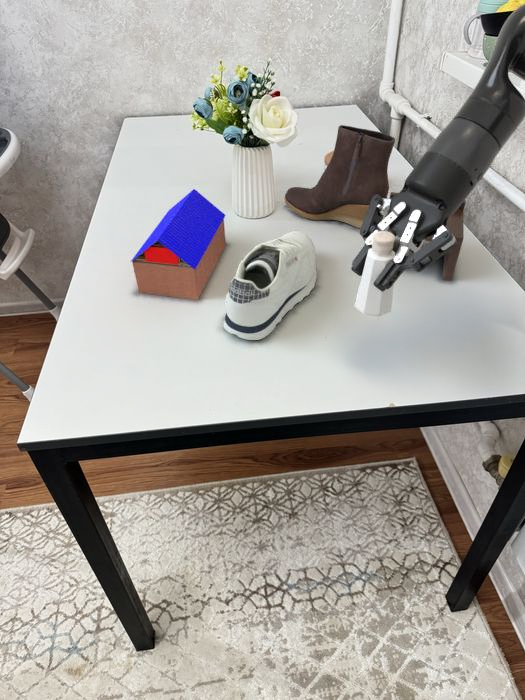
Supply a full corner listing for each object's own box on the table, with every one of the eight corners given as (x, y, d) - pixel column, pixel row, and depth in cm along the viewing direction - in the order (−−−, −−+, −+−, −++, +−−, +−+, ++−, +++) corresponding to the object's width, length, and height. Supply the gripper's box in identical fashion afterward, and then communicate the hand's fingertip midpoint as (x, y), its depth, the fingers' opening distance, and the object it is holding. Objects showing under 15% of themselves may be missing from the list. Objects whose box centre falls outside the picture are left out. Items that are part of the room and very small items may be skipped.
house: (227, 244, 102) (223, 191, 95) (199, 300, 88) (191, 243, 80) (173, 239, 104) (165, 186, 96) (136, 293, 90) (123, 237, 82)
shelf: (452, 248, 100) (465, 200, 93) (451, 281, 91) (465, 230, 84) (382, 239, 103) (390, 191, 96) (375, 270, 94) (383, 220, 87)
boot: (295, 197, 118) (298, 108, 104) (390, 222, 108) (407, 127, 95) (276, 212, 113) (277, 120, 99) (375, 239, 103) (390, 142, 89)
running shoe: (329, 260, 97) (334, 205, 89) (277, 353, 78) (278, 293, 70) (277, 250, 100) (277, 196, 92) (215, 336, 81) (208, 277, 73)
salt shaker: (380, 322, 66) (393, 251, 59) (346, 307, 69) (354, 237, 61) (399, 302, 69) (413, 233, 62) (366, 289, 72) (375, 220, 64)
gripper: (398, 134, 63) (318, 246, 66) (490, 170, 54) (393, 297, 58) (419, 166, 69) (345, 267, 72) (506, 203, 60) (416, 316, 63)
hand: (367, 280), depth 65 cm, fingers closed on salt shaker, 3 cm apart
